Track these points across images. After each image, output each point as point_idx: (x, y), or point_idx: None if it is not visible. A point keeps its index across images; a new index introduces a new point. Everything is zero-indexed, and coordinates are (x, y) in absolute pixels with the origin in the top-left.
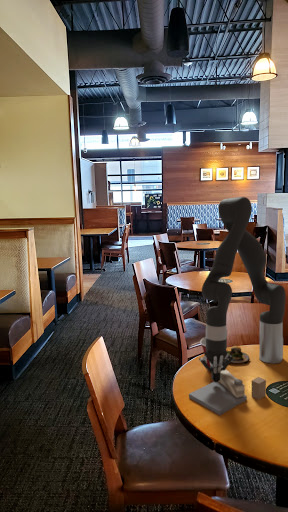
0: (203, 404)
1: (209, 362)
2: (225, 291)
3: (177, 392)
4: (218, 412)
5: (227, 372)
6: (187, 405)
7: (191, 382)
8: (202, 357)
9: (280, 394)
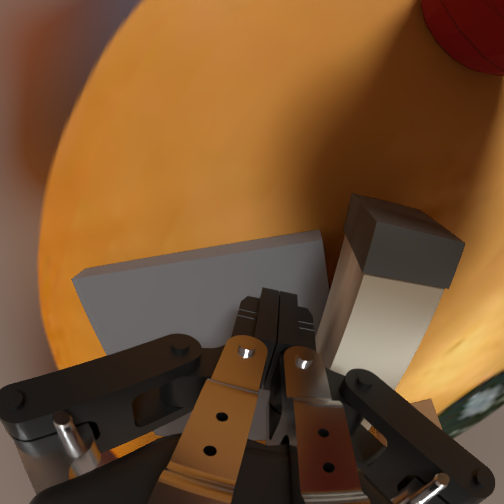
0: None
1: (446, 7)
2: None
3: (53, 188)
4: None
5: (387, 374)
6: (66, 313)
7: (173, 107)
8: (20, 456)
9: (466, 425)
